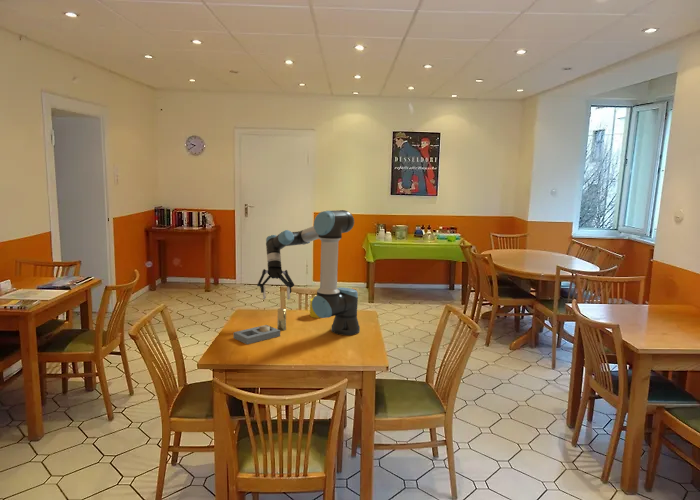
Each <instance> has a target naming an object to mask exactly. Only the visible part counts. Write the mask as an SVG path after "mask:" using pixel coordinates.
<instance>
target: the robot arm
mask: <svg viewBox="0 0 700 500" xmlns="http://www.w3.org/2000/svg"><path fill="white" fill-rule="evenodd" d="M354 226H355V218H354V216H353V214H352V213H351V212H349V211H348V210H343V209H342V210H339V209H338V210H337V209H336V210H325V211H320V212H318V214H317V215H316V216H315V218H314V221H313V226H310V227H307V228H305V229H302V230H299V231H290V230H288V229H285V230H283V231H281V232H279V234H277V235H276V234H271V235H269V236H267V237H266V238H265V247H266V248H265V249H266V259H267V270H266V269H265V268H264V269H262V271H261V276H260V278H259V280H258V282H257V284H256V286H257V287H259V288H260V293H261V294H262V299H263V300H265V299H266V298H267V296H266V295H267V294H266V293H267V292H266V286H265V285H266V283H268V281H269V280H270V279H273V280H274V279H279V281H281V282H282V283H283V284H284V285H285V286H286V293H287V294H286V296H287V300H288V301H289V300H290V299H291V293H292V288H293V287H294V286H295V283H294V281H293V280H292V278H291V276H290V275H289V272H288V270H287V269H285V270H283V269H282V256H281V255H282V254H281V250H283V248H285V247H291V246H301V245H306V244H310V242H313V241H315V240H320V243H321V245H320V275H319V278H320V279H319V283H320V284H319V288H318V289H317V290H316V295H315V296H314V297H313V298H314V299H313V300H312V308H313V311H314V312H315V314H316V315H317V316H318V317H320V318H319V319H327V318H332V317H334V319H333V322H332V324H331V328H330V330H331V332H332V333H333V334H336V335H341V336H352V335H357V334H359V333H360V329H361V328H360V325H359V319H358V299H359V297H358V296H359V293H358V291H357V290H356V289H354V288H351V287H350V288H349V287H339V286H338V270H339V269H338V264H339V241H340V240H341V239H342V237H343V235H342V234H345V233H348V232H350V231H351V230H352V229H353V228H354ZM266 274H267V275H268V276H267V277H266V279H264V277H265V275H266ZM263 279H264V281H263Z"/></svg>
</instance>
